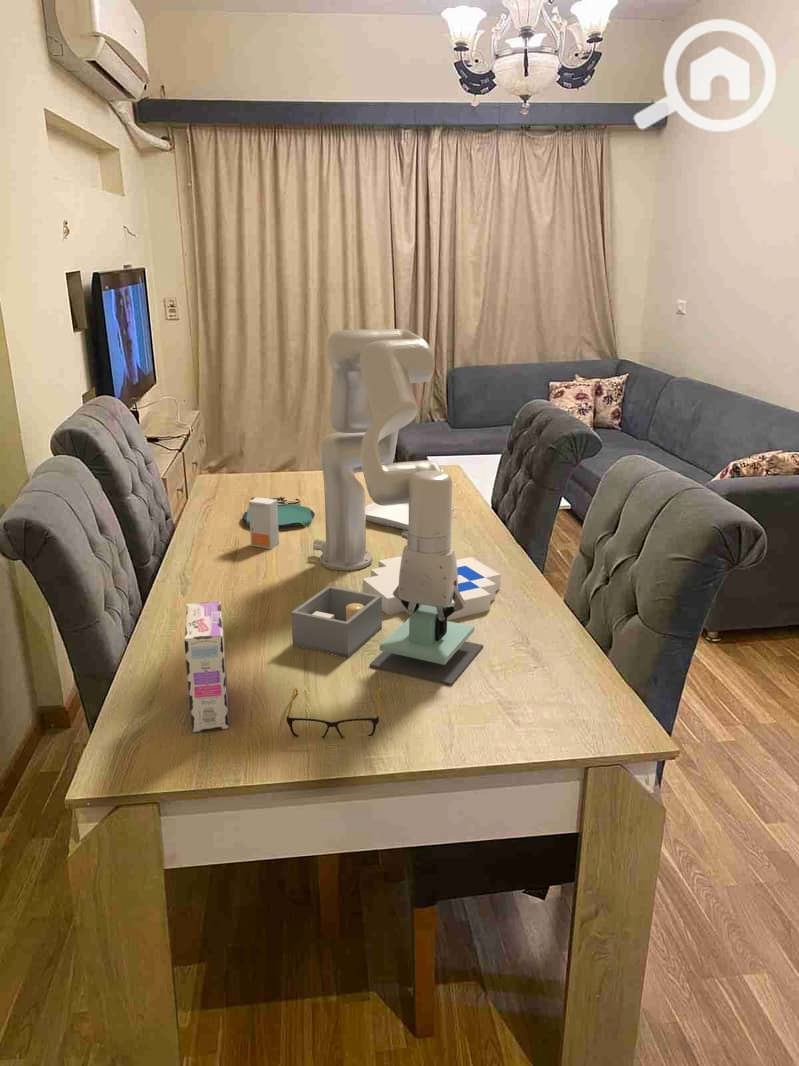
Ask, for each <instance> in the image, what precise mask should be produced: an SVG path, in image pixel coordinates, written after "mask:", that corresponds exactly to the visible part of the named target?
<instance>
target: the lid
mask: <svg viewBox="0 0 799 1066" xmlns="http://www.w3.org/2000/svg"><path fill="white" fill-rule="evenodd" d="M437 619H438V615H437V609H436V607H433V606H428V605H422V606H421V607H420V608H419V609H418V610H417V611H416V612H414V613H413V614H412V615H411V616H410V615H409V617H408V619H406V620H405V621H404V622H403V623H402V624H401V625H400V626H398V628H397V629H396V630H394V631H393V633H391V634H390V635H389V636H388V637H387V638H386V639H385V640H384V641H382V642H381V644H379V651H381V652H383V651H385V652H389V653H394V654H398V655H403V656H407V657H412V658H416V659H421V660H425V661H430V662H434V663H439V664H443V665H445V664H446V663H447V662H448V660H449V659H450V658H451V657H452V656H453V655H454V654H455V652H456V651H457V650H458V649H459V648H460V647H461V646H462V645H463V643H464V642H465V641H466V642H467V640H468V639H469V638H470V637H471V636H472V634H473V633H474V632H475V626H473V625H469V624H463V623H459V622H453V621H450V620H447V632H446V634H445V635H444V636H443V637H442V638H441V639H440V640H439V641H437V640H436V639H435V622H436V620H437Z"/></svg>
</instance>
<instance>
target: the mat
mask: <svg viewBox="0 0 799 1066" xmlns="http://www.w3.org/2000/svg"><path fill="white" fill-rule="evenodd" d="M483 648H484V645H483V644H481V643H477V642H475V643H474V642H470V641H467V640H466V641H465V642H464V643H463V645H462V646H461V647H460V648H459V649H458V650H457V651H456V652H455V654H454V655H453V656H452V657H451V658H450V659H449V660H448V662H447V663H446V664H445V665H443V664H439V663H434V662H430V661H425V660H421V659H416V658H412V657H407V656H403V655H398V654H394V653H389V652H385V651H381V652H380V653H379V655H378V656H376V657H375V658H374V659H373V661H371V662H370V663H369V668H370V667H371V668H374V669H378V670H383V671H386V672H392V673H395V674H400V675H404V676H407V677H412V678H417V679H421V680H425V681H430V682H434V683H436V684H437V683H438V684H441V685H442V684H443V685H446V686H450V687H452V686H453V685H454V684H455V683H456V681H457V680H458V679H459V678H460V677H461V675H462V674H463V673H464V672H465V670H466V669H467V668H468V666H470V665H471V663H472V662H473V660H474V659H475V658H476V657H477V656H478V654H479V653H480V652H481V651H482V649H483Z"/></svg>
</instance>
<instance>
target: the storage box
mask: <svg viewBox="0 0 799 1066" xmlns="http://www.w3.org/2000/svg"><path fill="white" fill-rule="evenodd" d="M382 612H383V610H382V596H378V595H373V594H368V593H363V591H357V590H351V589H348V588H341V587H337V586H330V585H328V586H326V587H324V589H322V590H321V591H319V592H318V593H316V594H314V596H312V597H310V598H309V599H308V600H306V601H305V602H304V603H302V604H300V605H299V606H297V607H295V609H293V610H292V611H291V612H290V614H291V616H290V617H291V637H292V638H291V639H292V646H294V647H297V648H302V649H306V650H311V651H314V650H315V652H318V651H320V652H319V653H322V652H323V654H327V653H328V654H327V655H331V654H333V655H332V656H335V655H336V657H340V658H344V657H345V659H349V658H350V657H351V656H353V655H354V654H355V653H356V652H357V651H358V650H359V649H361V646H362V647H363V646H364V645H365V644H366V643H367V642H369V641H370V640H371V639H372V638H373V637H374V636H375V635H376V634H377V633H379V631H381V630H382V628H383V622H382V621H383V613H382ZM372 636H373V637H372ZM371 637H372V638H371ZM370 638H371V639H370ZM353 653H354V654H353ZM352 654H353V655H352Z"/></svg>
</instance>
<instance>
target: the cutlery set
mask: <svg viewBox="0 0 799 1066" xmlns="http://www.w3.org/2000/svg"><path fill="white" fill-rule="evenodd" d="M285 497H286V496H279V497H273V498H272V497H270V498H269V497H267V498H268V499H274V500H275V499H285ZM250 498H251V499H250V501H251V500H253V499H255V498H256V497H250ZM283 501H287V500H280V501H277V508H278V528H289V527H295V526H299V525H303V526H304V528H306V526H307V527H309V526H310V525H311V524H312V521H313V519H314V518H315V516H316V513H315V511H314V510H312V509H311V508H310V507H308V506H303V505H301V503H300V502H301V500H297V501H299V502H298V503H297V502H294V501H292V502H287V503H288V504H284V503H286V502H283ZM292 503H295V504H292ZM242 518H243V521H244V522H246V524H247V525H248V526H250V516H249V508H248V509H246V511H244V513H243V515H242Z"/></svg>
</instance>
